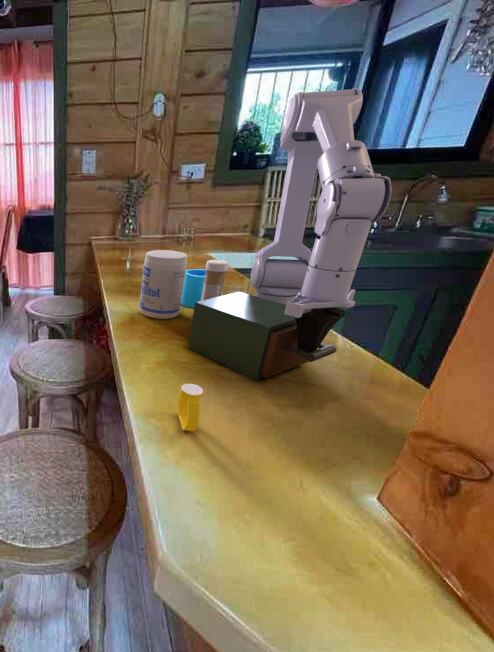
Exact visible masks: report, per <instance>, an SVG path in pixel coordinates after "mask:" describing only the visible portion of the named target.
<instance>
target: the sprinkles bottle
mask: <svg viewBox="0 0 494 652" xmlns="http://www.w3.org/2000/svg"><path fill="white" fill-rule="evenodd" d="M229 266H230V263H229V261H227V260H223V259H209V260H207V261H206V264H205V270H206V275H205V281H204V285H203V292H202V298H201V301H203V300H207V299H211V298H215V297H220V296H224V295H223V294H224V289H225V282H226V275H227V272H228V270H229Z"/></svg>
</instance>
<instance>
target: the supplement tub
mask: <svg viewBox="0 0 494 652" xmlns="http://www.w3.org/2000/svg"><path fill="white" fill-rule="evenodd" d="M187 265H188V254H187V253H185V252H182V251H178V250H171V249H170V250H169V249H154V250H148V251H147V252H146V253H145V258H144V262H143V268H142V279H141V287H140V295H139V296H140V297H139V305H138V310H139V312H140V314H142V315H144V316H146V317H148V318H151V319H152V318H153V319H160V320H168V319H173V318H175V317H177V316H178V315H179V313H180V308H181V297H182V291H183V285H184V279H185V273H186V270H187Z"/></svg>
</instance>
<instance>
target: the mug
mask: <svg viewBox="0 0 494 652" xmlns="http://www.w3.org/2000/svg"><path fill="white" fill-rule="evenodd" d="M205 275H206V268H205V269H203V268H192V269H186V273H185V279H184V285H183V291H182V297H181V303H180V305H182V306H184V307H186V308H192V309H194V307H195V302H198V301H201V298H202V292H203V285H204V281H205Z"/></svg>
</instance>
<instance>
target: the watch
mask: <svg viewBox="0 0 494 652" xmlns="http://www.w3.org/2000/svg"><path fill="white" fill-rule="evenodd" d="M203 395H204V390H203V388H202V387H201V386H199V385H198V384H195V383H184V384H182V385H181V387H180V390H179V396H178V405H177V406H178V408H177V409H178V410H177V411H178V419H179V423H180V426H181V430H182V431H189V432H195V431H196V430H197V428H198V426H199V420H200V414H201V413H200V409H201V407H200V406H201V404H200V399H201V398H202V397H203Z"/></svg>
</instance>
